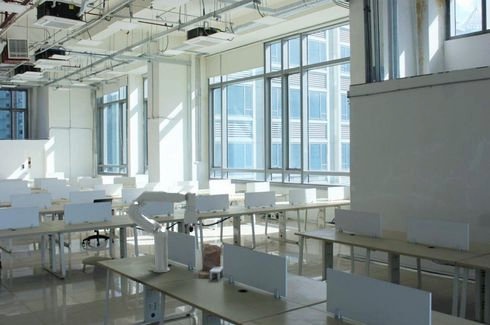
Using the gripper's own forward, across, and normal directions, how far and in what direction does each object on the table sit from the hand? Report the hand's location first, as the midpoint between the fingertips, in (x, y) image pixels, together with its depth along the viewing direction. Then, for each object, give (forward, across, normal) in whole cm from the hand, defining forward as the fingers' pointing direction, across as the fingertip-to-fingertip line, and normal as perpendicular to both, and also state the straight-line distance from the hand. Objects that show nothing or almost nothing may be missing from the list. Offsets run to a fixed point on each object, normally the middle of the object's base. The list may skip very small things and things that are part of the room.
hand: (191, 232), depth 398 cm
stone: (+29, +16, 0) cm, 33 cm away
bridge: (+29, +24, -18) cm, 42 cm away
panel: (+30, +18, -17) cm, 39 cm away
